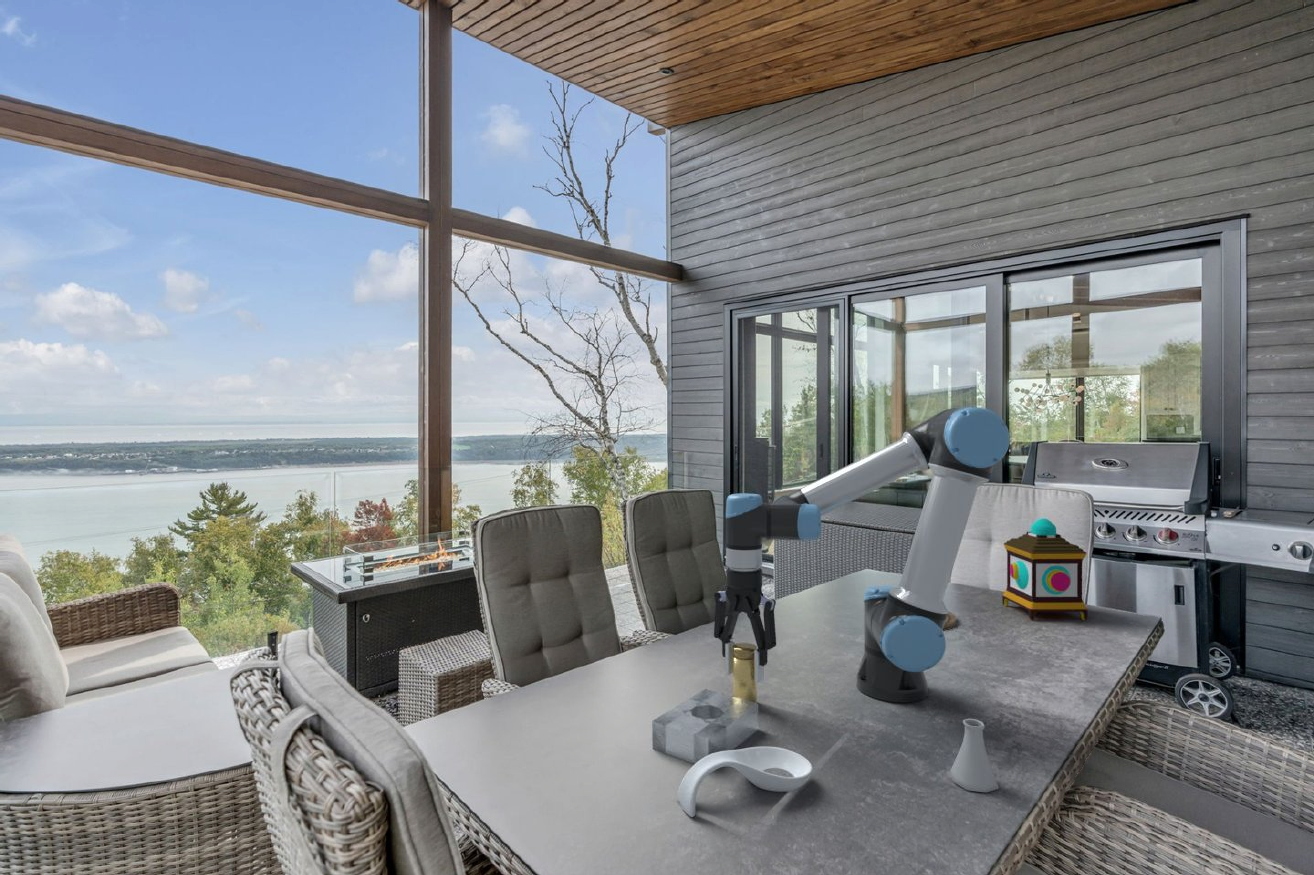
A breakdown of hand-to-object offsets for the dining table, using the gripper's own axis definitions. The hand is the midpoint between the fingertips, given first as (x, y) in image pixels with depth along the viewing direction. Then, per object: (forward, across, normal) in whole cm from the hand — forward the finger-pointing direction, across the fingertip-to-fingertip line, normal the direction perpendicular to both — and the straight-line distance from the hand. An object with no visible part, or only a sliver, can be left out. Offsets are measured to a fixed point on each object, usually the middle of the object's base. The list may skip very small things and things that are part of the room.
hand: (744, 676), depth 139 cm
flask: (+7, -45, +3) cm, 46 cm away
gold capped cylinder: (+7, 0, 0) cm, 7 cm away
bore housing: (+7, -2, +18) cm, 19 cm away
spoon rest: (+7, -16, +28) cm, 33 cm away
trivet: (+7, -10, -87) cm, 88 cm away
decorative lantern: (+7, -42, -117) cm, 125 cm away
